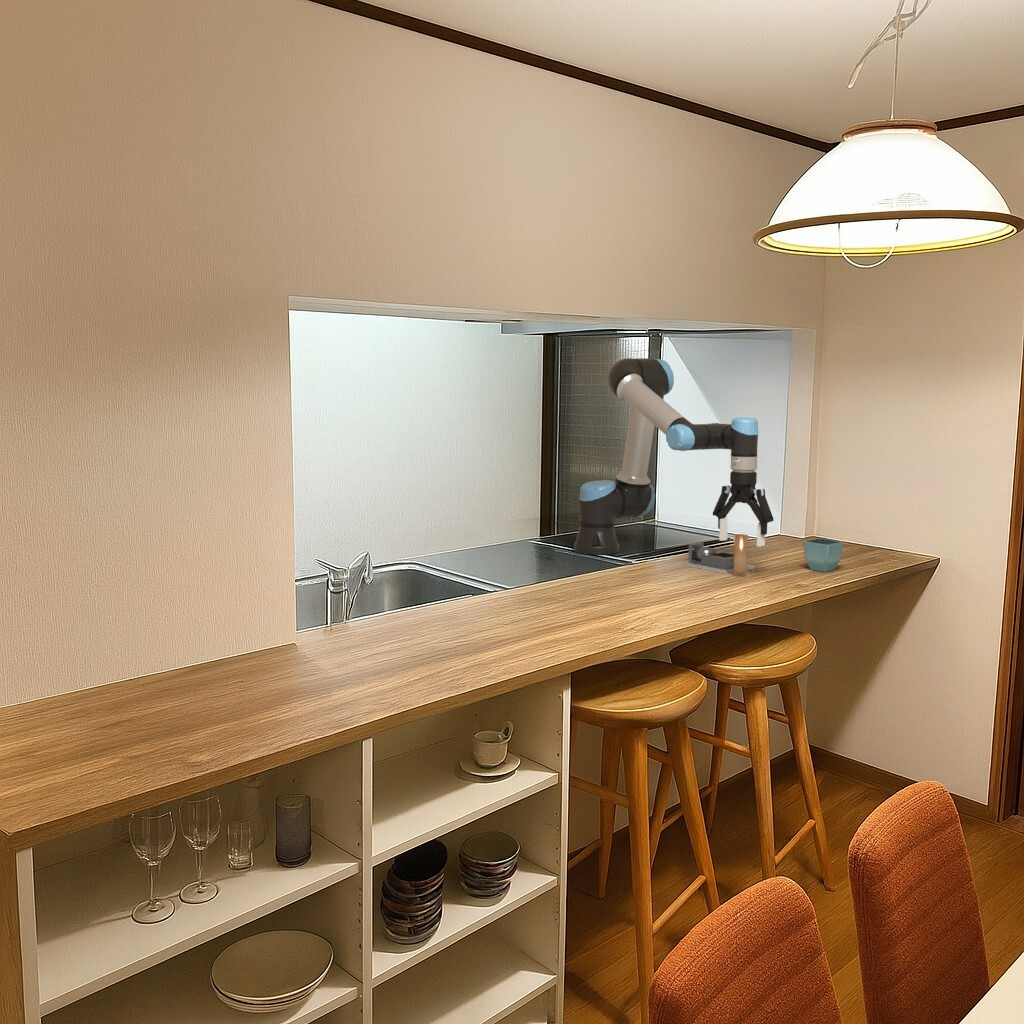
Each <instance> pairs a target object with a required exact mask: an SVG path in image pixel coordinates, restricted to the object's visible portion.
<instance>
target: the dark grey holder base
mask: <svg viewBox="0 0 1024 1024" xmlns="http://www.w3.org/2000/svg"><path fill="white" fill-rule="evenodd" d="M704 543H705V542H702V541H700V542H694V543H688V560H683V561H681V562H680V563H681V564H680V565H681V566H685V567H686V566H687V567H691V568H694V569H695V568H696V569H700V568H701V570H706V571H711V572H717V573H719V574H720V573H721V574H724V575H725V574H726V575H729V574H733V554H734V552H729V551H723V550H721V551H716V549H715V548H714V547H713V548H712V547H708V546H707V547H706V546H704V545H705V544H704ZM754 569H755V565H753V564H748V563H747V571H750V570H754Z"/></svg>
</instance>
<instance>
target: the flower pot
mask: <svg viewBox="0 0 1024 1024" xmlns="http://www.w3.org/2000/svg"><path fill="white" fill-rule="evenodd" d="M844 545H845V543H844V541H840V540H835V539H834V540H833V539H828V538H820V537H817V538H814V539H809V540H803V551H804V552H803V553H804V558H805V561H806V564H807V566H808V567H809V568H810V570H812V571H817V572H822V573H826V572H827V573H828V572H832V571H834V570H835V569H836V568H837V567H838V565H839V563H840V562H841V559H842V554H843V549H844Z"/></svg>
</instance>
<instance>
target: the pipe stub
mask: <svg viewBox="0 0 1024 1024" xmlns="http://www.w3.org/2000/svg"><path fill="white" fill-rule="evenodd" d="M748 547H749V535H748V534H745V533H743V534H742V533H735V534H734V535H733V553H734V554H733V573H732V576H734V577H742V578H743V577H747V575H748V574H747V573H748V570H747V564H748Z"/></svg>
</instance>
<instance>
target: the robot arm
mask: <svg viewBox="0 0 1024 1024" xmlns="http://www.w3.org/2000/svg"><path fill="white" fill-rule="evenodd" d="M674 378H675V377H674V372H673V369H672V368H671V366H670V364H669V363H668V362H667V361H666V360H663V359H661V358H660V359H659V358H652V357H650V358H645V357H644V358H638V357H637V358H632V357H629V358H628V357H627V358H623V359H622V358H621V359H619V360H618V361H616V362H614V364H612V366H611V367H610V369H609V370H608V375H607V383H608V387H609V390H610V391H611V392H612V393H613V394H614V396H616V398H618V399H619V400H620V401H622V402H627V403H629V405H631V406H630V410H629V411H630V413H629V418H628V427H627V435H626V441H625V447H624V452H623V460H622V467H621V471H620V472H619V473H618V474H617V475H616V477H615V481H614V480H609V479H602V480H591V481H588V482H585V483H583V484H582V485H581V486H580V490H579V496H578V497H579V498H578V499H579V521H578V522H579V523H578V524H579V527H578V530H577V531H578V532H577V534H576V539H575V541H574V543H573V551H574V552H575V553H579V554H585V555H594V556H595V555H613V554H617V553H620V544H619V542H618V538H617V533H616V531H615V519H623V518H624V519H625V518H638V517H641V516H646V515H648V514H649V513H650V512H651V510H652V509H653V507H654V505H655V501H656V493H655V492H654V491H655V488H654V486H653V485H652V484H651V479H650V478H649V476H648V469H649V465H650V464H649V463H650V457H651V452H652V451H651V450H652V445H653V443H652V442H653V438H654V431H655V427H656V428H657V429H658V430H659V431H660V432H662V433H663V434H664V435H665V438H666V439H665V441H666V443H667V444H668V445H667V446H668V448H670V449H671V450H673V451H680V452H686V451H687V452H688V451H697V450H699V451H700V450H704V451H705V450H730V470H731V472H730V476H729V483H730V484H731V485H722V486H721V493H720V496H719V497H718V499H717V502H716V504H715V506H714V508H713V512H712V516H715V517H717V519H718V520H717V522H718V523H717V524H718V525H717V528H718V529H719V540H718V541H728V528H729V527H728V524H729V519H728V517H727V515H728V514H729V513H730V512H731V510H732V509H733V507H735V505H736V504H737V503H738V504H739V503H742V504H747V505H748V506H749V508H751V510H752V512H753V514H754V515H755V517H756V519H757V521H758V523H757V525H756V547H762V546H766V545H765V542H766V540H765V538H766V535H767V533H768V524H769V523H772V522H774V516H773V514H772V511H771V507H770V505H769V502H768V500H767V498H766V489H765V488H759V489H757V488H756V484H757V481H758V480H757V478H758V473H757V472H756V471H757V470H758V443H759V442H758V440H759V423H758V422H759V421H758V419H756V418H755V417H733V418H732V419H731V423H719V422H712V423H699V424H697V423H696V424H695V423H692V422H690V420H688V419H687V418H685V417H684V416H683V415H682V414H681V413H680V412H678V411H677V410H676V409H675V408H674V407H672V406H671V404H669V403H668V402H666V401H665V399H664V397H665V396H666V395H668V394H669V393H670V391H672V389H673V388H674V382H675V379H674ZM730 494H731V496H730ZM729 496H730V497H729ZM755 496H756V497H755Z"/></svg>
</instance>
